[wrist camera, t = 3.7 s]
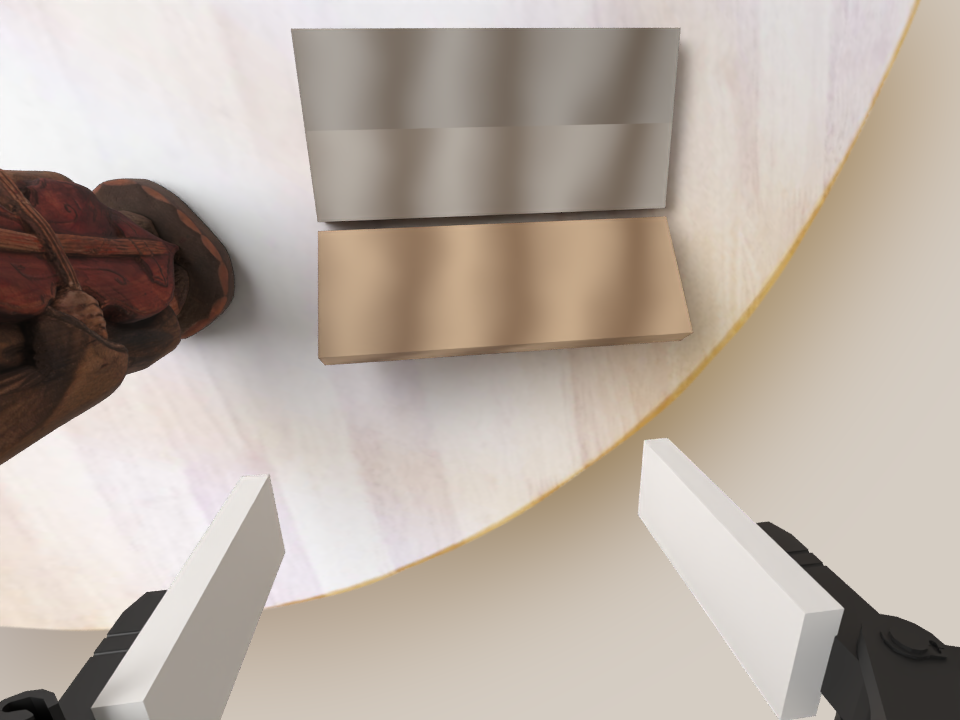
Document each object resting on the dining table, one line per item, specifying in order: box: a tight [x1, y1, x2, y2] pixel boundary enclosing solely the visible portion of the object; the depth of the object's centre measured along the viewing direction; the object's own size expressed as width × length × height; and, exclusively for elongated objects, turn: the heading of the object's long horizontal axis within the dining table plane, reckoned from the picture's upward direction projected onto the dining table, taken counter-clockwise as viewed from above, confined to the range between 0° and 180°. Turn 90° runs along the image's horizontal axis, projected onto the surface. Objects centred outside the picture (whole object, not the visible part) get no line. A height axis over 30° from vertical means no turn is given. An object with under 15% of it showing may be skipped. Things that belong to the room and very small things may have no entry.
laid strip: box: [291, 28, 680, 222], centre depth 29 cm, size 22×10×2 cm, turn 92°
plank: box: [318, 217, 693, 365], centre depth 30 cm, size 22×8×2 cm
